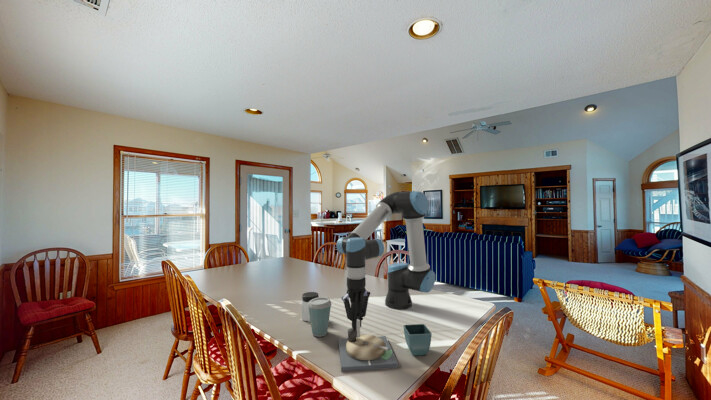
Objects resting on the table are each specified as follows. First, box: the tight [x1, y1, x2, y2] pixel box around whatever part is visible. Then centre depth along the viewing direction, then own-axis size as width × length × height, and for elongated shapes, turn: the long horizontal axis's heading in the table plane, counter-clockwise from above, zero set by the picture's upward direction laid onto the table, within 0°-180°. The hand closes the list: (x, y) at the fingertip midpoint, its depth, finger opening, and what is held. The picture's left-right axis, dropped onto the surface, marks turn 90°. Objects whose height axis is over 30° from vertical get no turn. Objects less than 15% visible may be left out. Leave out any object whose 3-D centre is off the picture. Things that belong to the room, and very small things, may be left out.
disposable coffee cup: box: [308, 296, 332, 338], centre depth 122 cm, size 11×11×15 cm
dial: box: [346, 327, 388, 360], centre depth 105 cm, size 17×15×6 cm
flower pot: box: [403, 323, 433, 356], centre depth 107 cm, size 9×9×9 cm
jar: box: [301, 291, 320, 323], centre depth 139 cm, size 9×8×12 cm
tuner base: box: [338, 335, 399, 372], centre depth 105 cm, size 20×20×2 cm
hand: (356, 335), depth 110 cm, fingers closed
